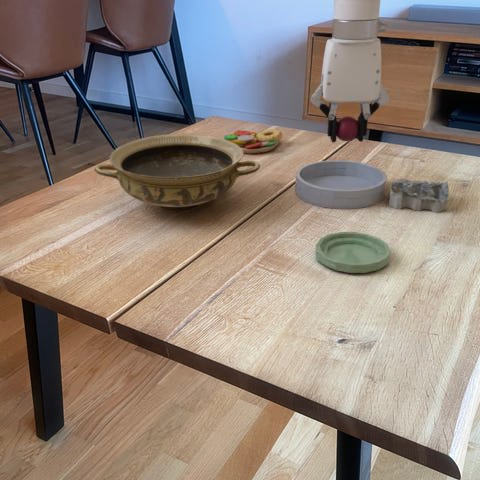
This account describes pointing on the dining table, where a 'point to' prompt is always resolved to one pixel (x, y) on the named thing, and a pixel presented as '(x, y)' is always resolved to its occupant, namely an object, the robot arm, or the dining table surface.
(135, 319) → the dining table surface
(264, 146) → the toy food set
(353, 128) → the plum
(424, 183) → the egg carton
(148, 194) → the ceramic bowl
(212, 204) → the dining table surface
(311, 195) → the dish
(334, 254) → the saucer
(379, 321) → the dining table surface
